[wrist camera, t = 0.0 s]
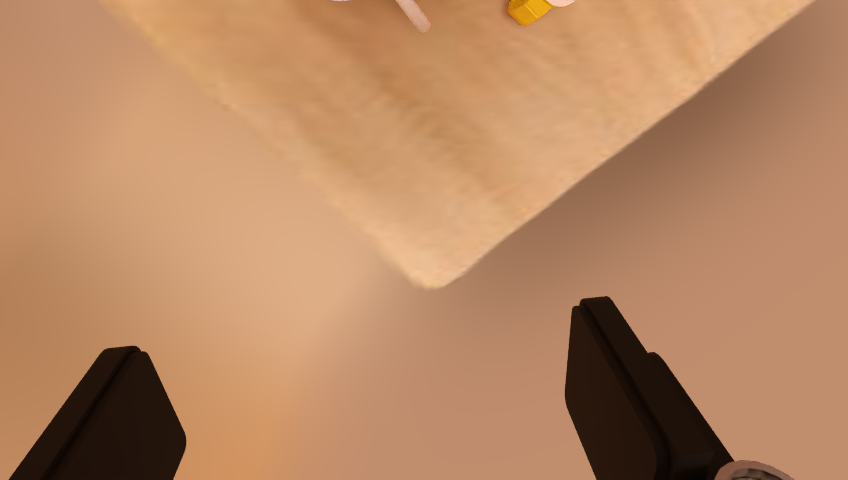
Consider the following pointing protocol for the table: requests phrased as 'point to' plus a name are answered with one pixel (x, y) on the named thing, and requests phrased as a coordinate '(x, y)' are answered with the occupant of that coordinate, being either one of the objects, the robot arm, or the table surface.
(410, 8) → the mug
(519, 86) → the table surface
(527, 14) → the watch
